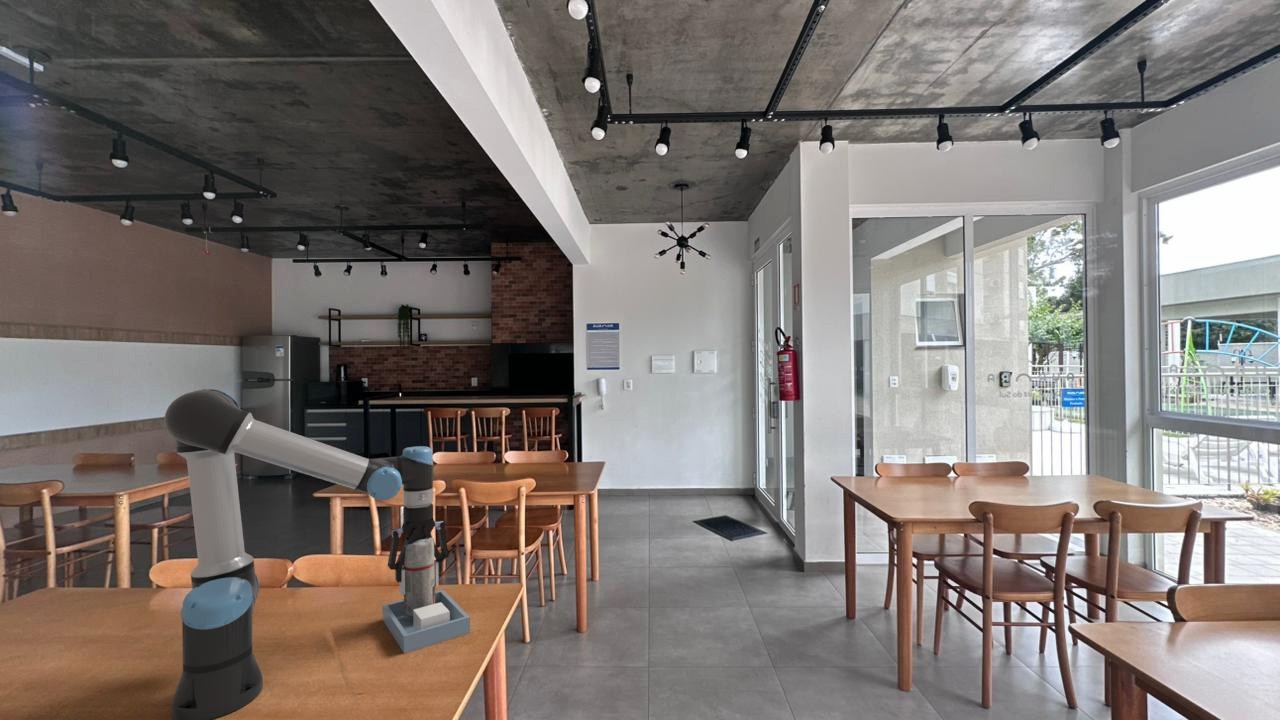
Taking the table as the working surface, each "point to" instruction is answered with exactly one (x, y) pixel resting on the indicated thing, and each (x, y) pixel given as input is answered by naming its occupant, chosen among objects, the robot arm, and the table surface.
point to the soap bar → (430, 616)
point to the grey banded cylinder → (419, 575)
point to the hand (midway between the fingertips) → (419, 588)
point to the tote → (425, 637)
